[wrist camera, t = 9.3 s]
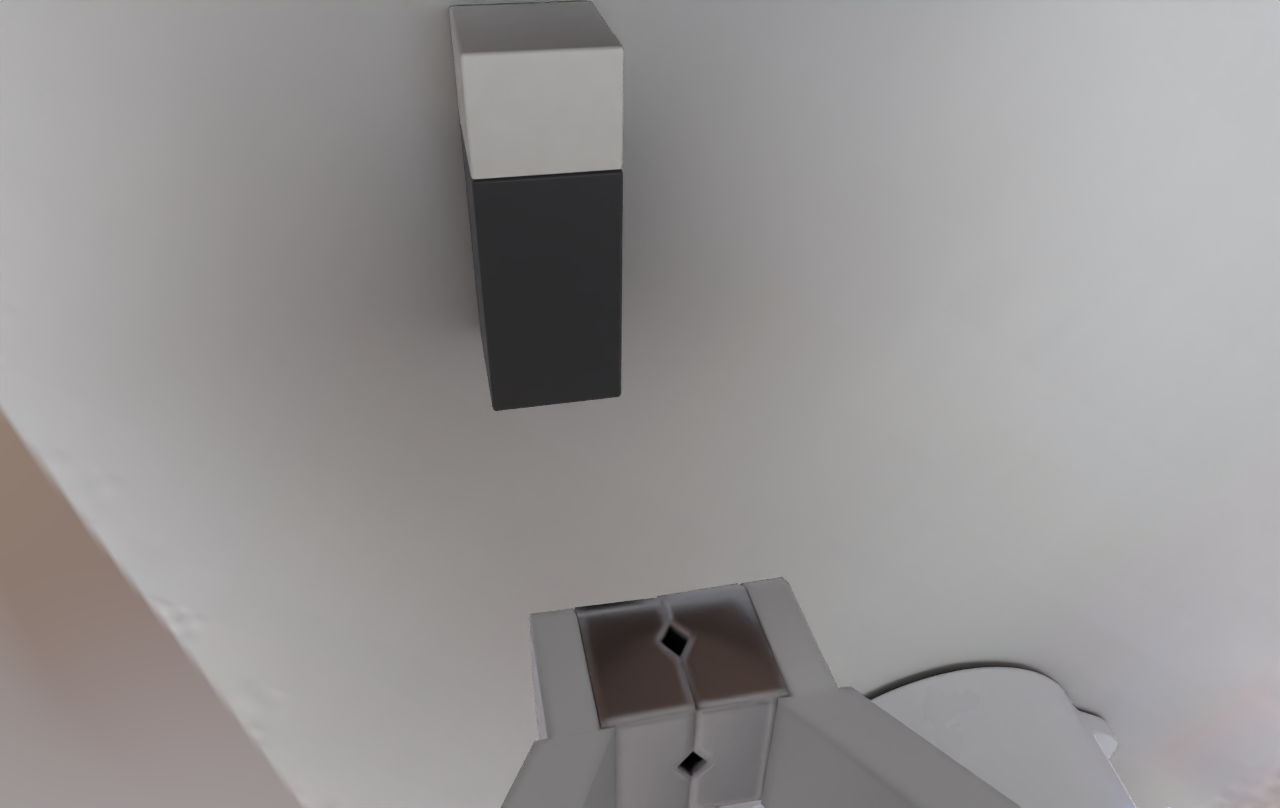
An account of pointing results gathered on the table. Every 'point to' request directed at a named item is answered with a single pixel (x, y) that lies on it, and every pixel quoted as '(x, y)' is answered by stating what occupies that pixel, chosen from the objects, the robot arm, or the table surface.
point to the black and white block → (544, 196)
